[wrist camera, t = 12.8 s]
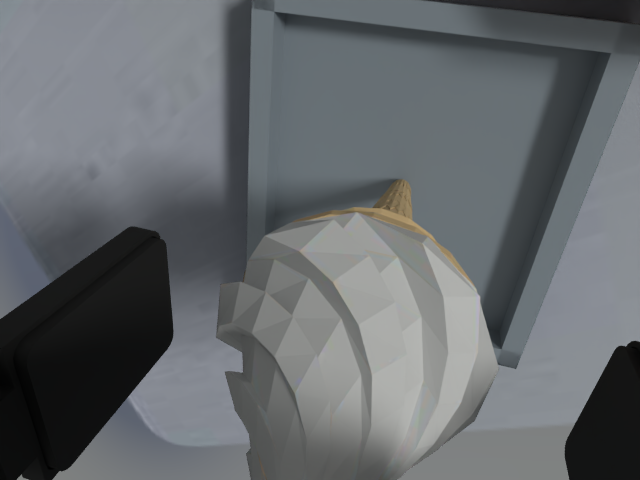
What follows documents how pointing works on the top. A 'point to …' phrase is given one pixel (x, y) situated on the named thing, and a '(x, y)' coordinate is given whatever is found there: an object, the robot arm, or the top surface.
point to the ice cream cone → (354, 345)
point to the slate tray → (438, 129)
